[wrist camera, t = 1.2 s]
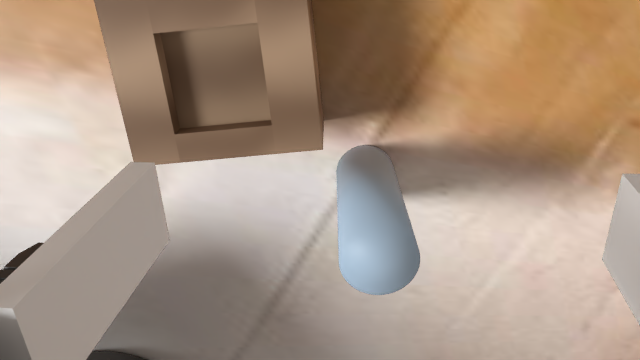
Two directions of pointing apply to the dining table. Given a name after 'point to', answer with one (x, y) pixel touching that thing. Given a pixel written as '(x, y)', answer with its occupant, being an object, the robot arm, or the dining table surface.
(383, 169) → the slate-blue dowel
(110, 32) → the brown hollow block
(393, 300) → the dining table surface
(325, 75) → the dining table surface
